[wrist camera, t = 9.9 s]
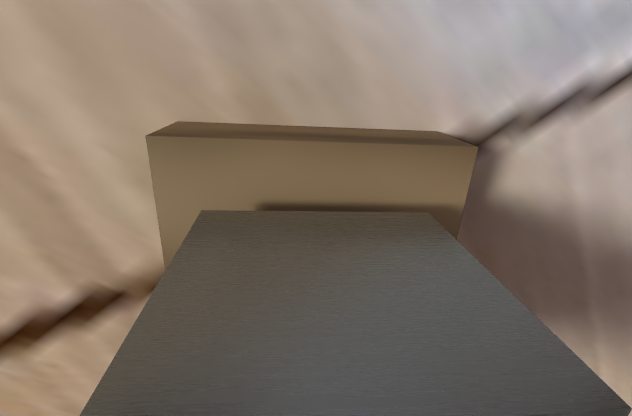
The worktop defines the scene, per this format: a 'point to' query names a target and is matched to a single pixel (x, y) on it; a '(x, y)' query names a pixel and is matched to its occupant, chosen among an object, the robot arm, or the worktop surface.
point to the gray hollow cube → (339, 328)
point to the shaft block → (303, 172)
